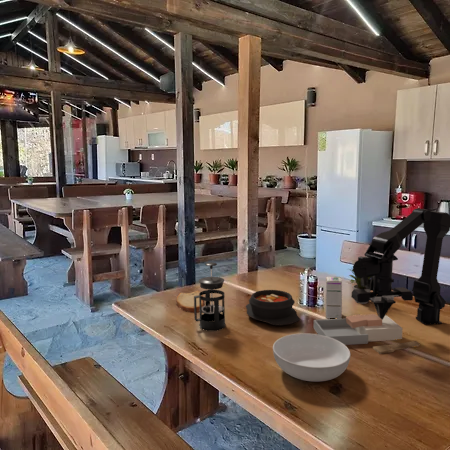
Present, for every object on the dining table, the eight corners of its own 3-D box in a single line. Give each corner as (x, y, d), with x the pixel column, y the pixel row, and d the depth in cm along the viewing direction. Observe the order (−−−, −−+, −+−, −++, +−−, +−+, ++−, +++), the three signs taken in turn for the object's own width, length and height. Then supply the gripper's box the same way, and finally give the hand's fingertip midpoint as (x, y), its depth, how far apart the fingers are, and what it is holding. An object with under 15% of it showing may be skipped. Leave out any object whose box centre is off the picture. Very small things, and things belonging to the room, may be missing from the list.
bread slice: (197, 314, 160) (197, 305, 159) (161, 306, 169) (161, 297, 169) (222, 301, 175) (222, 292, 174) (188, 294, 184) (188, 286, 184)
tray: (351, 326, 146) (351, 318, 145) (367, 343, 132) (368, 334, 131) (313, 328, 145) (313, 319, 144) (326, 345, 131) (326, 336, 130)
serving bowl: (336, 401, 101) (337, 375, 100) (259, 378, 112) (259, 354, 111) (358, 365, 118) (359, 342, 117) (290, 348, 129) (290, 327, 128)
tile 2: (374, 319, 141) (374, 313, 141) (382, 325, 136) (382, 319, 136) (360, 320, 140) (360, 314, 140) (367, 326, 135) (367, 320, 135)
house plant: (361, 311, 160) (363, 270, 157) (335, 300, 172) (336, 262, 169) (386, 304, 167) (388, 264, 164) (359, 294, 179) (360, 257, 176)
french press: (221, 318, 154) (220, 258, 151) (231, 328, 146) (230, 264, 142) (191, 324, 150) (189, 262, 146) (199, 333, 141) (198, 268, 138)
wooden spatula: (413, 342, 132) (413, 339, 132) (421, 347, 129) (421, 344, 128) (372, 348, 128) (372, 345, 128) (379, 353, 125) (380, 350, 125)
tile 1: (360, 319, 141) (359, 314, 140) (367, 325, 136) (366, 319, 135) (346, 322, 140) (345, 316, 140) (352, 328, 135) (351, 322, 135)
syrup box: (341, 319, 152) (343, 281, 150) (325, 318, 153) (326, 280, 151) (340, 313, 157) (341, 276, 155) (324, 312, 159) (325, 276, 156)
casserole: (312, 324, 148) (312, 301, 147) (266, 334, 140) (266, 310, 139) (275, 303, 170) (275, 283, 169) (234, 310, 163) (234, 289, 162)
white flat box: (386, 326, 145) (386, 315, 144) (401, 339, 134) (402, 328, 134) (352, 327, 144) (353, 316, 144) (366, 341, 133) (366, 329, 133)
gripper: (397, 266, 145) (395, 309, 147) (346, 268, 143) (344, 312, 146) (415, 275, 134) (412, 321, 136) (359, 277, 132) (357, 324, 135)
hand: (380, 319), depth 138 cm, fingers closed
